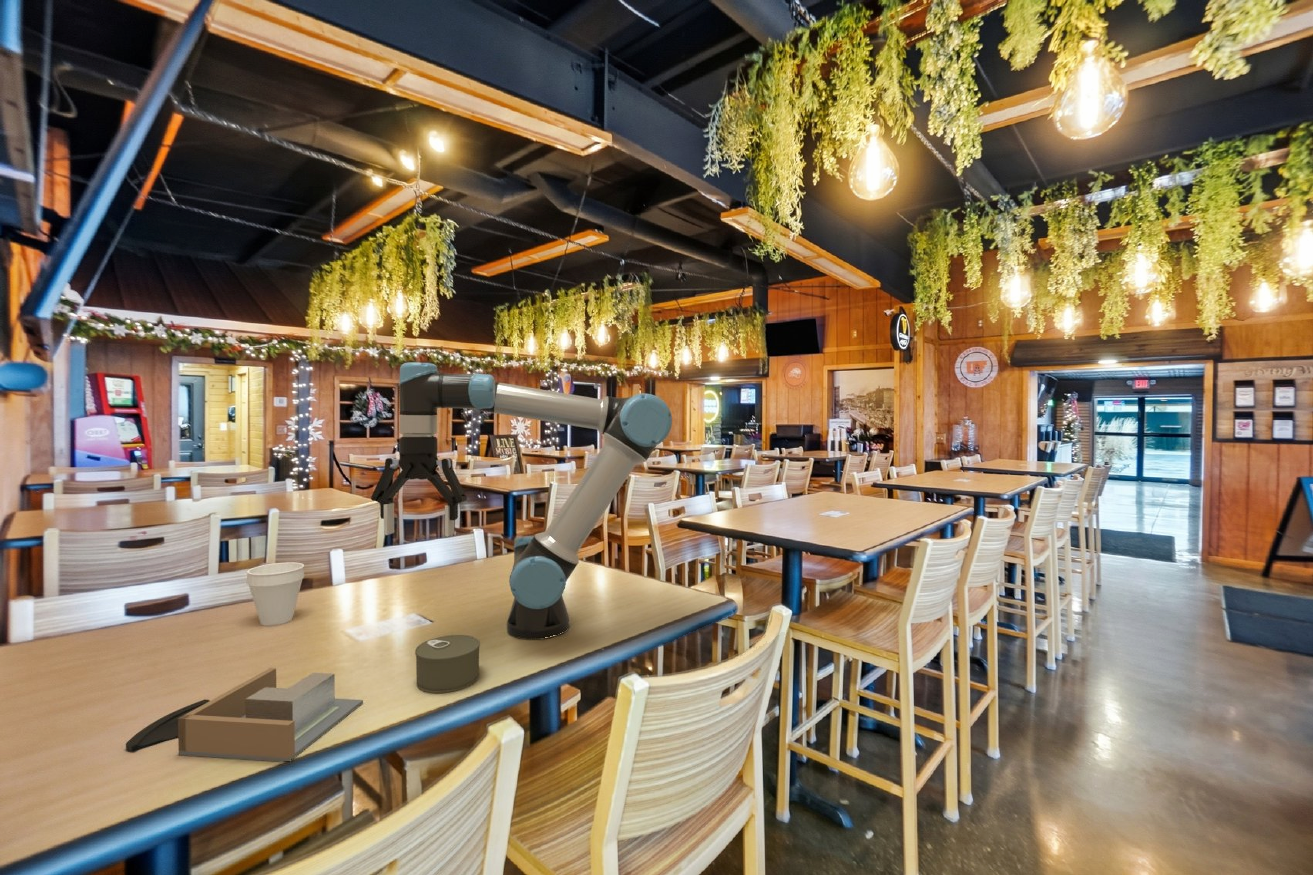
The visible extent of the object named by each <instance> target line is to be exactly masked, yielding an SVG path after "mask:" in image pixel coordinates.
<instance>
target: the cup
mask: <svg viewBox="0 0 1313 875" xmlns="http://www.w3.org/2000/svg"><path fill="white" fill-rule="evenodd" d="M246 574H247V575H246V584H247V585H248V587H249V590H250V594H251V596H252V597H251V598H252V601H253V603H254V607H255V609H256V614H257V617H258V620H259V624H260V625H261V626H265V627H266V626H267V627H270V626H279V625H284V624H287V623H289V622H291V621H292V620H293V618H294V614H295V610H296V607H297V602H298V598H299V595H300V590H301V586H302V583H303V579H304V578H305V577H306V576H305V564H304V563H302V562H301V563H300V562H295V561H294V562H293V561H292V562H287V561H286V562H274V563H268V564H262V565H259V566H254V567H252V568H250V569H248V570H247V571H246Z"/></svg>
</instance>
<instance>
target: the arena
mask: <svg viewBox="0 0 1313 875" xmlns="http://www.w3.org/2000/svg"><path fill="white" fill-rule="evenodd" d="M265 687H269V688H277V668H276V667H270V668H269V667H268V668H267V669H266V670H264V671H262V672H260V673H258V674H256V675H255V676H253V677H251V678H250V679H247V680H246V681H244V682H242V683H240V684H238V685H237V686H235V687H233V688H230V690H228V691H225V692H223V693H222V694H220V695H218V696H216V697H215V698H213V699H211V700H210V701H209V702H207V703H205V704H204V705H202V706H200V707H198V708H196V709H195V710H193V711H191V712H189V713H187V714H185V715H184V716H182V717H180V718H178V738H177V739H178V742H177V743H178V744H177V745H178V756H189V757H202V758H205V757H206V758H220V759H232V760H233V759H235V760H247V759H251V761H262V760H264V762H277V761H290V760H291V759H292V760H294V759H295V758H296V757H298V754H299V753H300V754H301V753H303V752H304V751H305V750H306V749H308V748H309V747H310V746H312V745H313V744H314V743H316V742H317V741H318V740H319V739H320V738H322V737H323V736H324V735H325V734H326V733H328V732H329V731H330V730H332V728H334V727H335V726H336V725H337V723H338V722H339V723H340V722H342V721H343V720H344V719H345V718H347V717H348V716H349V715H350V714H352V713H353V712H354V711H355V710H356V709H358V708H359V707H360V706H362V705H363V704H364V700H363V699H355V698H354V699H351V698H335V708H334V709H332V710H331V711H330V712H328V713H327V714H326V715H324V716H323V717H322V718H320V719H319V720H318V721H316V722H315V723H314V724H312V725H311V726H310V727H308V728H307V729H306V730H304V731H303V732H302V733H300V734H299V735H298V736H296V737H295V727H294V721H287V720H270V719H253V718H246V698H248V697H250V696H251V695H253V694H255V693H256V692H258V691H260V690H262V689H263V688H265ZM362 703H363V704H362ZM358 706H359V707H358ZM357 707H358V708H357ZM347 715H348V716H347ZM342 719H343V720H342ZM339 723H338V724H339ZM317 739H318V740H317ZM308 746H309V747H308ZM304 749H305V750H304ZM303 750H304V751H303ZM300 754H299V755H300ZM295 756H296V757H295ZM294 757H295V758H294ZM293 758H294V759H293ZM252 759H253V760H252ZM292 760H291V761H292ZM291 761H290V762H291Z"/></svg>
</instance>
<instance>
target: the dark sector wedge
mask: <svg viewBox="0 0 1313 875" xmlns="http://www.w3.org/2000/svg"><path fill="white" fill-rule="evenodd" d="M209 701H211V700H210V699H202V700H199V701H196V702H194V703H192V704H189V705H186V706H184V707H181V708H179V709H176V710H175V711H172V712H171V713H168V714H166V715H164V716H162V717H159V719H157V720H155V721H153V722H152V723H150V724H148V725H147V726H145V727H143V728H142V729H141V730H139V731H138V732H137V733H135V734H134V735H133V736H132V737H131V738H129V740H127V741H126V743H125V752H128V753H135V752H137V751H141V750H143V749H146V748H148V747H152V746H155V745H159V744H162V743H166V742H168V741H172V740H177V739H178V718H180V717H182V716H184V715H185V714H187V713H189V712H191V711H193V710H195V709H196V708H198V707H200V706H202V705H204V704H205V703H207V702H209Z"/></svg>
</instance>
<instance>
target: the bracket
mask: <svg viewBox="0 0 1313 875" xmlns="http://www.w3.org/2000/svg"><path fill="white" fill-rule="evenodd" d="M335 675H336V674H335V673H327V672H325V673H323V672H311V673H310V674H309V675H307V676H305V677H304V678H303V679H300V680H299V681H297V682H295V683H294V684H293V685H291V686H290V687H288V688H286V687H276V688H269V687H265V688H263V689H262V690H260V691H258V692H256V693H255V694H253V695H251V696H250V697H248V698H246V718H253V719H270V720H287V721H294V727H295V737H296V736H298V735H299V734H300V733H302V732H303V731H304V730H306V729H307V728H308V727H310V726H311V725H312V724H314V723H315V722H316V721H318V720H319V719H320V718H322V717H323V716H324V715H326V714H327V713H328V712H330V711H331V710H332V709H334V708H335V699H336V696H335V695H336V694H335V692H336V690H335V687H336V686H335V685H336V683H335V679H336V678H335Z"/></svg>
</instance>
